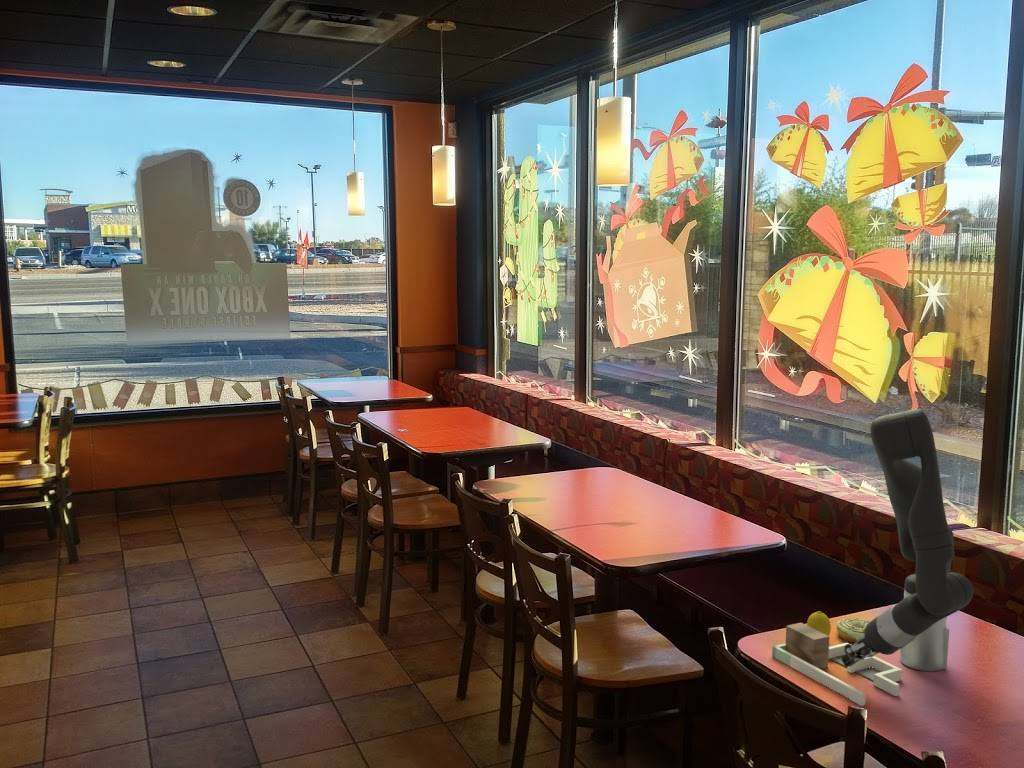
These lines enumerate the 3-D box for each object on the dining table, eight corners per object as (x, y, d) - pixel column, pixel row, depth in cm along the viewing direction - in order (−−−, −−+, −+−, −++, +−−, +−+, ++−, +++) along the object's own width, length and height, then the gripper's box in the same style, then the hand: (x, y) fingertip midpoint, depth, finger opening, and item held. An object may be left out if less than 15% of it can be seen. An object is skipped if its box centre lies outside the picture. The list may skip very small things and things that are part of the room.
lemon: (831, 648, 218) (833, 616, 217) (807, 646, 219) (808, 614, 218) (828, 639, 223) (829, 608, 222) (804, 637, 224) (806, 606, 223)
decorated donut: (864, 650, 217) (865, 635, 216) (827, 635, 226) (827, 621, 225) (890, 640, 222) (891, 626, 222) (853, 626, 231) (853, 612, 231)
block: (827, 667, 207) (829, 636, 206) (812, 671, 205) (814, 639, 204) (799, 652, 215) (800, 622, 214) (785, 656, 213) (786, 625, 212)
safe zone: (825, 657, 212) (826, 647, 212) (790, 666, 207) (790, 655, 207) (807, 648, 218) (807, 638, 217) (772, 656, 213) (772, 646, 212)
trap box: (920, 689, 196) (920, 678, 196) (861, 706, 189) (862, 694, 188) (846, 652, 215) (846, 642, 215) (790, 666, 207) (790, 655, 207)
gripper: (906, 607, 192) (859, 641, 204) (860, 617, 186) (814, 651, 199) (926, 640, 188) (876, 673, 200) (879, 651, 182) (831, 684, 194)
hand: (845, 662), depth 199 cm, fingers closed
